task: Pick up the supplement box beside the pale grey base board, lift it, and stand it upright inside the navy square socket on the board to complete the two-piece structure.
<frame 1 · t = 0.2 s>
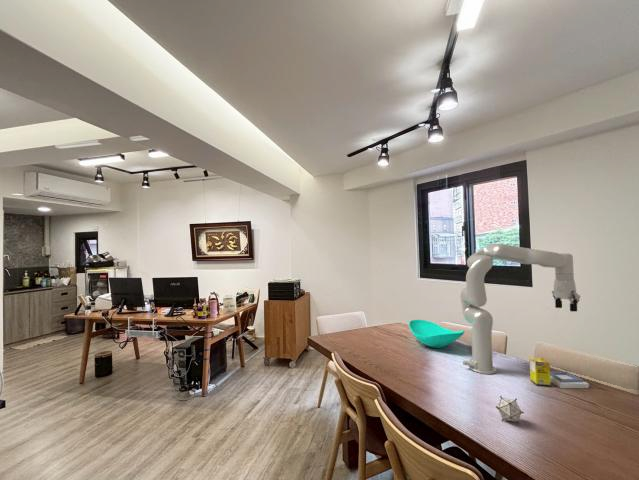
hand: (566, 309, 159), 31 cm above the table, tool pointing down, fingers open, 9 cm apart
table top decor: (435, 346, 199), on the table
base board: (564, 382, 142), on the table
grey icosahedron: (509, 421, 111), on the table
supplement box: (540, 384, 141), on the table
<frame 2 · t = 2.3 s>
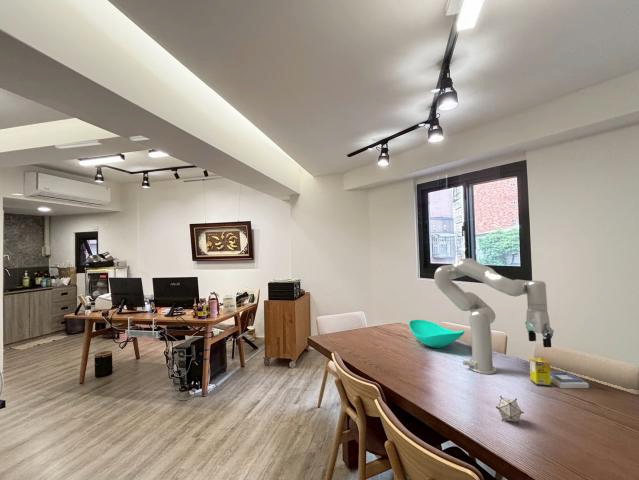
hand: (539, 343, 142), 18 cm above the table, tool pointing down, fingers open, 9 cm apart
nothing on the table moved.
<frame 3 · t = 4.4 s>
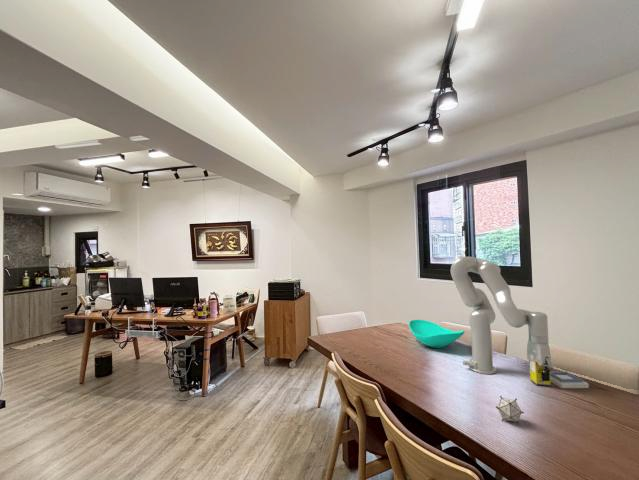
hand: (540, 377, 141), 3 cm above the table, tool pointing down, fingers closed on supplement box, 6 cm apart
supplement box: (540, 383, 141), on the table, touching gripper
everything else where it was.
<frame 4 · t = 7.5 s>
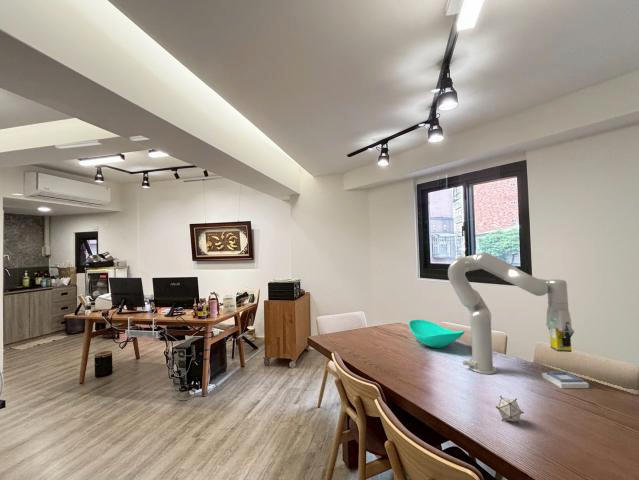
hand: (560, 343, 142), 18 cm above the table, tool pointing down, fingers closed on supplement box, 6 cm apart
supplement box: (561, 350, 142), point 15 cm above the table, touching gripper
everything else where it was.
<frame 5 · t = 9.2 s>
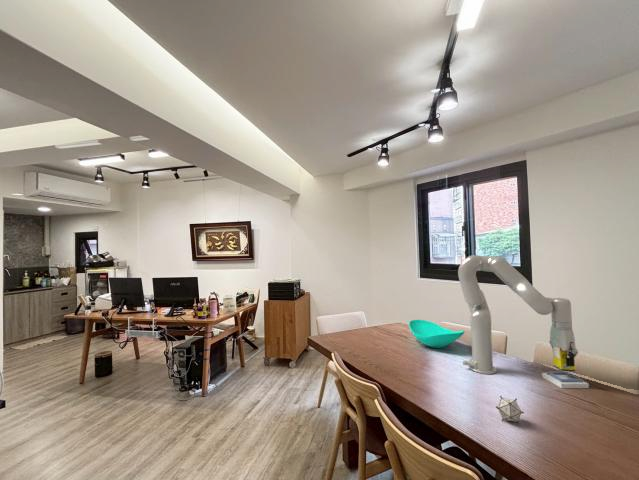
hand: (564, 362, 142), 9 cm above the table, tool pointing down, fingers closed on supplement box, 6 cm apart
supplement box: (564, 369, 142), point 6 cm above the table, touching gripper
everything else where it was.
when the fingers open (6 cm above the table, at t = 10.7 s): supplement box drops 1 cm, resting on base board.
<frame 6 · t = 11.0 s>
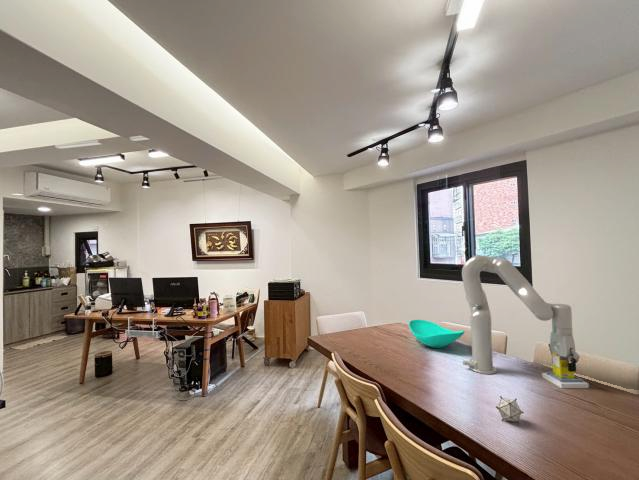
hand: (563, 367, 142), 7 cm above the table, tool pointing down, fingers open, 9 cm apart
supplement box: (563, 378, 142), point 2 cm above the table, touching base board
everything else where it was.
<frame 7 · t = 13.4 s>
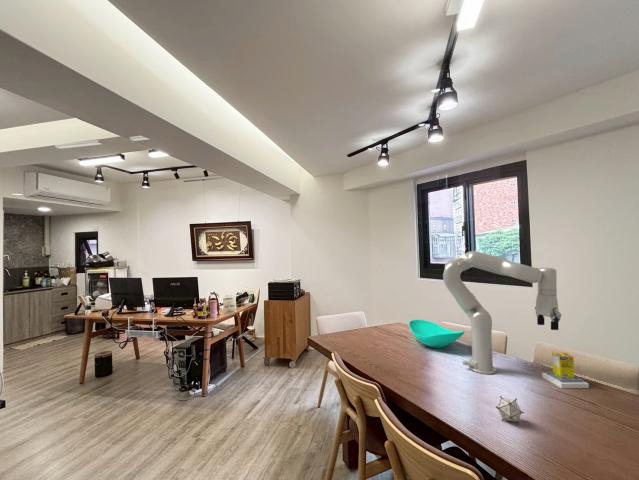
hand: (547, 327, 150), 24 cm above the table, tool pointing down, fingers open, 9 cm apart
nothing on the table moved.
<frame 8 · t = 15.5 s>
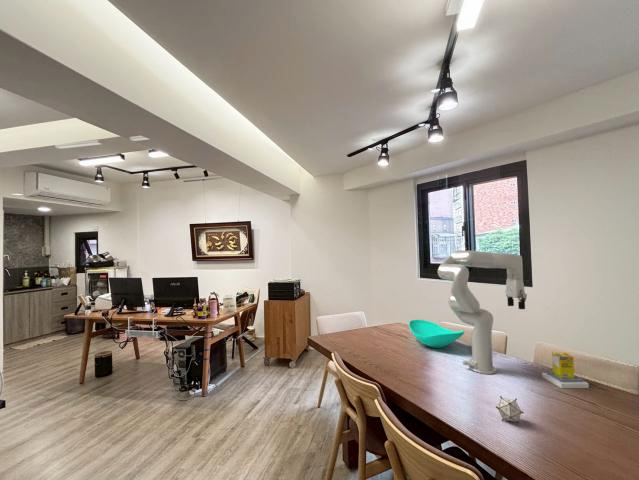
hand: (516, 307, 169), 30 cm above the table, tool pointing down, fingers open, 9 cm apart
nothing on the table moved.
at the end: supplement box 0.3 cm off-centre on the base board, point 1.8 cm above the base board's base; supplement box tilted 0°; the gripper is holding nothing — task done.
